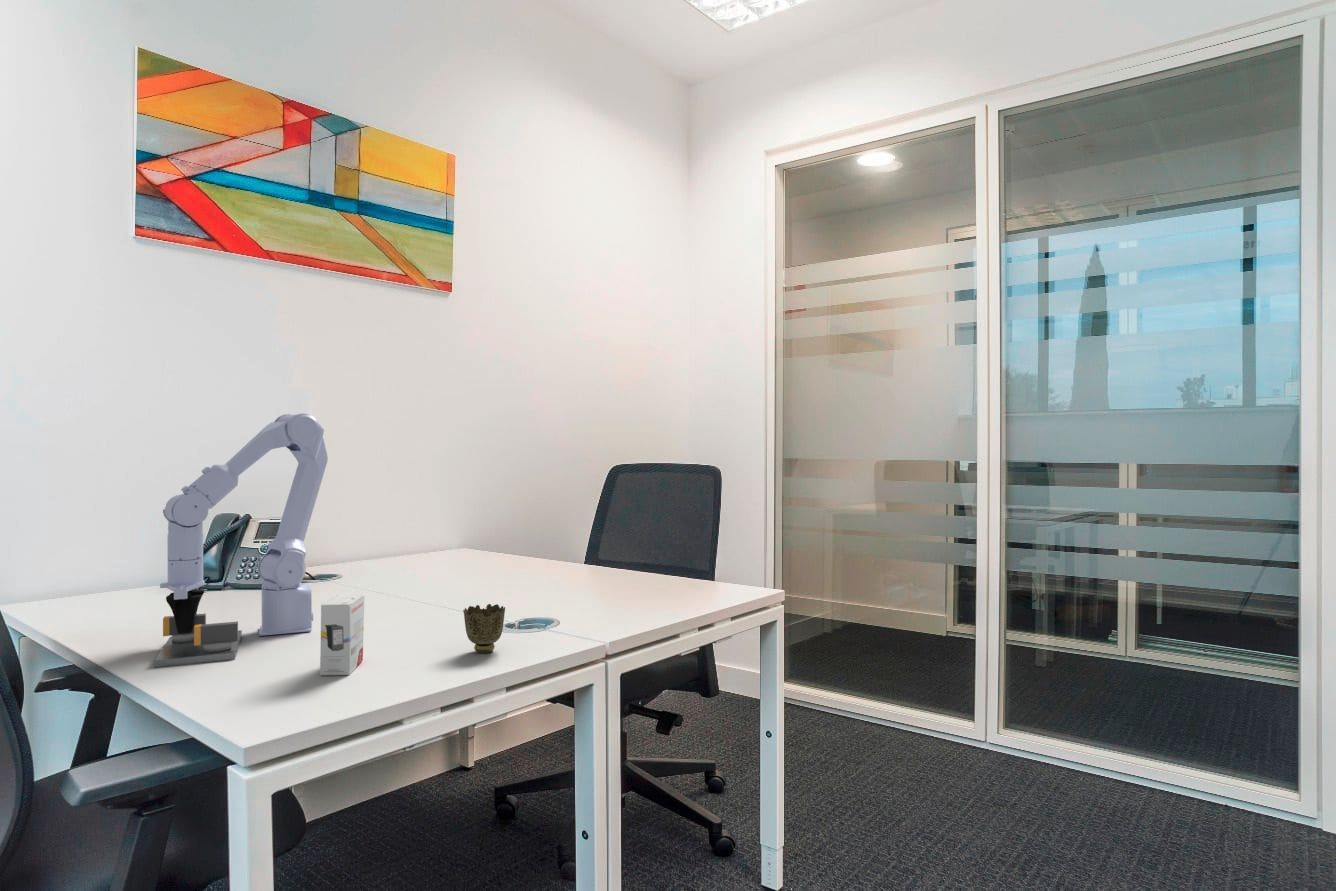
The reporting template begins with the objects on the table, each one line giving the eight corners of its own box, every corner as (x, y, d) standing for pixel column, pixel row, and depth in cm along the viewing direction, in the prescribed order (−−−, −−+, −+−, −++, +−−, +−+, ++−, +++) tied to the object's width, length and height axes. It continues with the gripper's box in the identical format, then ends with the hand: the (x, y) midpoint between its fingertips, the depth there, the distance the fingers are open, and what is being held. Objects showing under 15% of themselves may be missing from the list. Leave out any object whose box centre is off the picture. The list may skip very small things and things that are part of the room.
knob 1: (206, 635, 151) (206, 611, 151) (204, 640, 147) (204, 616, 147) (165, 638, 148) (165, 615, 148) (161, 644, 144) (161, 619, 144)
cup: (463, 658, 140) (463, 613, 140) (463, 647, 147) (463, 604, 147) (506, 655, 142) (506, 610, 142) (503, 645, 149) (503, 602, 149)
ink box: (335, 662, 137) (335, 594, 137) (365, 661, 138) (365, 593, 138) (318, 677, 129) (318, 604, 129) (350, 676, 129) (350, 604, 129)
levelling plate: (241, 636, 155) (241, 621, 155) (234, 659, 139) (234, 642, 139) (170, 642, 150) (170, 627, 150) (154, 667, 134) (154, 649, 134)
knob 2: (238, 643, 145) (238, 619, 145) (236, 649, 141) (236, 624, 141) (196, 647, 142) (196, 623, 142) (193, 653, 138) (193, 628, 138)
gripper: (166, 554, 153) (166, 624, 153) (153, 565, 139) (154, 642, 139) (208, 552, 156) (208, 621, 156) (200, 563, 142) (200, 638, 142)
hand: (185, 631), depth 148 cm, fingers closed on knob 1, 2 cm apart
